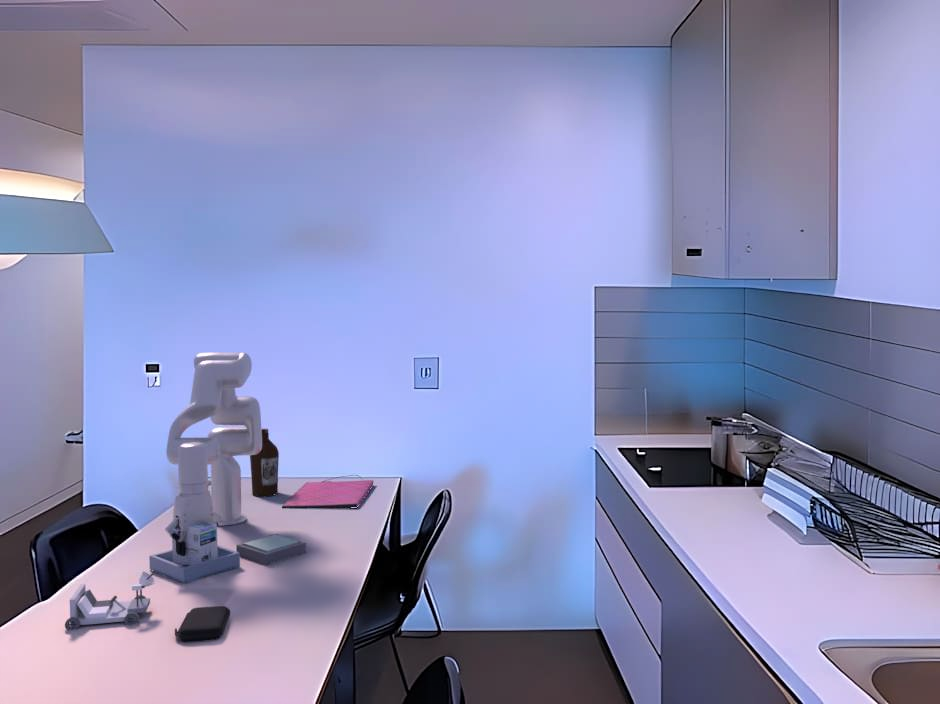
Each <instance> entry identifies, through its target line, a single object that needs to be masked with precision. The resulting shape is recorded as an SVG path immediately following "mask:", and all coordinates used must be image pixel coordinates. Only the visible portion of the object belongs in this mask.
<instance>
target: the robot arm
mask: <svg viewBox="0 0 940 704" xmlns="http://www.w3.org/2000/svg"><path fill="white" fill-rule="evenodd" d="M252 363H253V362H252V359H251V357H250V356H249V354H248V353H247V352H246V353H245V352H239V351H238V352H234V351H233V352H221V351H219V352H216V351H215V352H214V351H212V352H211V351H210V352H201V353H198V354H196V355H195V356H194V359H193V365H194V374H193V380H192V387H191V392H190V393H191V395H190V402H189V405H188V406H187V407H186V408H184V409H183V410H182V411H181V412H180V413H179V414H178V415H177V417H175V419H174V420H173V422H172V423H171V425H170V428H169V432H168V436H167V437H168V438H167V443H166V453H165V454H166V459H167V461H168V462H169V463H171V464H172V465H178V466H177V468H178V469H177V470H178V471H177V472H178V493H177V494H175V498H174V503H173V511H172V521H171V522H170V523H169V524H168V525H167V526H166V527H165V529H164V530H165V532H166V533H167V534H168V535H169V537H170V538H173V539H174V540H175V541H176V552H177V554H178V555H181V556H185V541H183V539H184V537H185V535H186V533H187V532H188V531H189V527H191V526H195V525H199V524H204V523H208V522H212V523H217V527H218V526H222V527H223V526H224V527H225V526H234V525H239V524H241V523H243V522H245V521H246V520H247V515H246V514H244V513H242V477H241V476H242V474H241V473H242V470H241V466H240V464H239V463H238V461H237V460H236V458H234V457H236V456H239V457H240V456H250V455H256V454H258V453H259V452H260V451H261V448H262V429H263V428H262V419H261V418H262V416H261V405H260V402H259V401H258V399H257V398H256V397H253V396H237V394H236V389H238V388H242V387H243V386H244V385H245V384H246V382H247V380H249V378H250V376H251V372H252V367H253V365H252ZM209 418H210V420H211V422H212V424H214V425H216V426H220V427H216V428H214V429H211V430H210V431H209V433H208V434H207V437H182V435H183V434H184V432H186V430H187V429H188V428H190V427H192V426H193V425H194V424H196V423H199V422H201V421H204V420H206V419H209ZM208 465H210V480H208V475H209V474H208V471H209V469H208ZM209 486H211V488H210V489H211V491H210V490H209ZM177 525H179V527H177V528H178V530H177V529H176V528H175V527H176V526H177ZM180 528H181V529H180ZM173 529H176V530H177V532H176V533H175V532H174V531H173Z"/></svg>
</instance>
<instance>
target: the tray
mask: <svg viewBox="0 0 940 704" xmlns="http://www.w3.org/2000/svg"><path fill="white" fill-rule="evenodd" d="M217 548H218V558H215V559H212V560H208V561H205V562H201V563H198V564H194V565H186V564H181V563H176V562H173V551H172V549H170V550H166V551H163V552H158V553H155V554H151V555H149V560H148V561H149V570H150V569H151V570H153V571H155V572H154V573H156V572H157V573H156V574H158V573H160V574H159V575H161V574H162V575H161V576H163V575H164V576H163V577H165V576H166V578H168V579H171V580H173V581H175V582H178V583H181V584H183V585H185V584H189V583H192V582H195V581H199V580H201V579H206V578H208V577H211V576H215V575H218V574H221V573H224V572H229V571H232V570H234V569H237V568H240V567H241V565H240V564H241V559H240V557H241V556H240V553H239V552H237V550H236V551H235V550H232V549H231V548H227V547H224V546H220V545H218V544H217ZM151 570H150V571H151ZM153 571H152V572H153Z"/></svg>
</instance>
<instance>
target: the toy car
mask: <svg viewBox="0 0 940 704" xmlns="http://www.w3.org/2000/svg"><path fill="white" fill-rule="evenodd" d="M154 573H155V572H151V573H148V572H147V571H142V572H141V574H140V577H139V580H138V581H139V582H138V584H132V585H131V587H132V588H131V590H132V591H135V593H136V595H135V597H134V599H131V600H127V601H126V600H125V601H118V600H117V599H118V596H117V595H114V596H113V597H112V598H110V599H108V600H107V599H105V600H97V598H96V596H95V595H94V594H93V592H92V590H91V589H86V583H82V584H80V585H79V586H78V587H77V588H76V590H75V592H74V593H73V594H72V596H71V598H70V599H69V618H68V619H66V621H65V622H64V628H65V630H66V631H71V630H72V631H73V630H78V629H79V627H80V626H84V625H85V626H86V625H87V626H88V625H96V624H98V625H99V624H107V623H119V622H124V624H125V625H127V626H128V625H137V624H138V622H139V619H140V617H139V614H138V613H146V612H147V610H148V608H149V607H150V604H151V597H146V596H145V595H144V594H143V589H145V588H146V587H151V586H152V585H155V584H156V580H155V578H154V577H153V575H154Z"/></svg>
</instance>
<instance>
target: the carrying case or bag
mask: <svg viewBox="0 0 940 704" xmlns="http://www.w3.org/2000/svg"><path fill="white" fill-rule="evenodd" d="M230 616H231V609H230V608H228V607H227V606H226V605H218V606H204V607H203V606H201V607H194V608H191V609H190V611H189V612H187V613H186V615H185V617H184V619H183V621H182V622H181V625H180V626H179V628H176V627H175V628H174V636H175V637H176V638H178V639H179V640H180V642H183V643H187V642H188V643H191V642H204V641H206V642H207V641H216V640H219V639H220V638H221V637H222V636H223V634H224V633H225V629H226V626H227V624H228V621H229V618H230Z"/></svg>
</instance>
